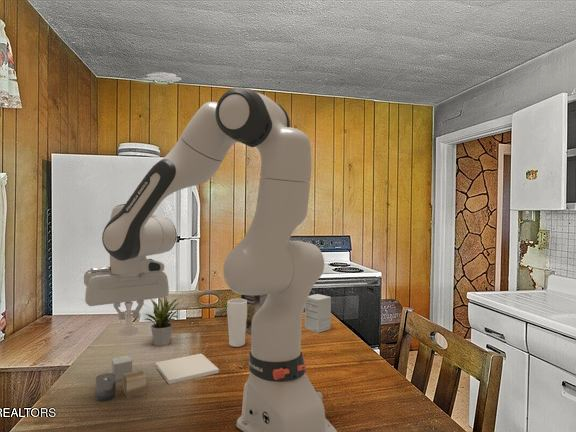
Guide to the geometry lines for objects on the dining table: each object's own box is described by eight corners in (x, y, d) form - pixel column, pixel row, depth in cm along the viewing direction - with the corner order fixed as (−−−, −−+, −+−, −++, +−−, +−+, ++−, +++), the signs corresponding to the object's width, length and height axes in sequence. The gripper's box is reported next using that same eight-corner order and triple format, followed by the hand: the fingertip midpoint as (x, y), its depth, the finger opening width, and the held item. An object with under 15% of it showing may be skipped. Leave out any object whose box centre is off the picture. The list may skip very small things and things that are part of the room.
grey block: (132, 377, 108) (132, 360, 108) (114, 381, 106) (114, 364, 106) (129, 371, 112) (129, 355, 112) (111, 374, 109) (111, 358, 109)
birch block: (146, 394, 98) (146, 376, 98) (126, 398, 96) (126, 380, 96) (142, 387, 102) (142, 369, 102) (123, 391, 100) (123, 373, 100)
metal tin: (117, 398, 96) (117, 378, 96) (97, 403, 93) (97, 382, 93) (114, 391, 100) (114, 371, 99) (94, 395, 97) (94, 375, 97)
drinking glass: (243, 349, 130) (243, 303, 130) (224, 347, 131) (224, 302, 131) (249, 342, 136) (249, 299, 136) (230, 340, 138) (231, 298, 138)
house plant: (194, 337, 141) (194, 292, 140) (176, 351, 127) (176, 301, 127) (157, 335, 143) (157, 290, 143) (135, 348, 129) (135, 299, 129)
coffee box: (240, 331, 149) (240, 288, 148) (251, 326, 154) (251, 285, 154) (258, 335, 143) (259, 291, 143) (269, 331, 149) (269, 288, 148)
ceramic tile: (218, 372, 111) (218, 369, 111) (168, 384, 104) (168, 380, 104) (201, 356, 123) (201, 353, 123) (155, 365, 116) (155, 362, 115)
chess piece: (126, 329, 107) (125, 292, 106) (142, 330, 106) (142, 293, 105) (114, 335, 102) (114, 296, 101) (131, 336, 101) (131, 297, 100)
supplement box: (317, 325, 157) (317, 293, 157) (331, 329, 152) (331, 296, 152) (304, 328, 152) (304, 296, 152) (318, 333, 147) (318, 299, 147)
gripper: (85, 270, 95) (85, 327, 95) (170, 264, 106) (170, 315, 106) (82, 267, 100) (83, 321, 101) (164, 261, 111) (164, 310, 111)
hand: (128, 318), depth 103 cm, fingers closed on chess piece, 2 cm apart
